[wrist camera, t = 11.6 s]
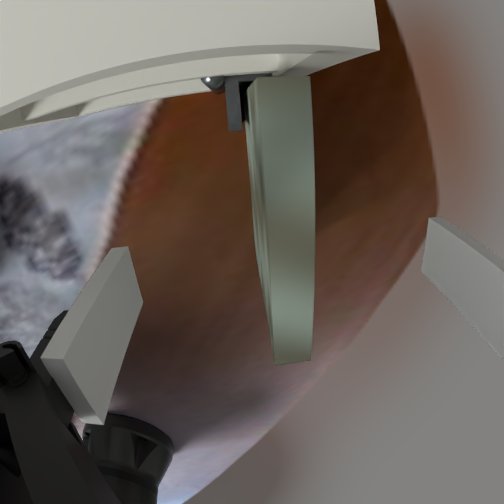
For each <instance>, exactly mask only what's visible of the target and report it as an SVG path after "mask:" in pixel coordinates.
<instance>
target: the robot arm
mask: <svg viewBox="0 0 504 504" xmlns="http://www.w3.org/2000/svg"><path fill="white" fill-rule="evenodd" d="M421 272H422V273H423V274H424V275H425V276H426V277H427V278H428V279H429V280H430V281H431V282H432V283H433V284H434V285H435V286H436V287H437V288H438V289H439V290H440V291H441V292H442V293H443V294H444V295H445V296H446V297H447V298H448V299H449V300H450V302H451V303H452V304H453V305H454V306H455V307H456V308H457V309H458V310H459V311H460V312H461V313H462V314H463V316H464V317H465V318H466V319H467V320H468V321H469V322H470V323H471V324H472V326H473V327H474V328H475V329H476V330H477V331H478V332H479V333H480V335H481V336H482V337H483V338H484V339H485V340H486V341H487V343H488V344H489V345H490V346H491V347H492V349H493V350H494V351H495V352H496V353H497V355H498V356H499V357H500V358H501V359H502V358H504V259H502V258H501V257H499V256H498V255H497V254H495V253H494V252H493V251H491V250H490V249H488V248H487V247H486V246H484V245H483V244H481V243H480V242H478V241H477V240H476V239H474V238H473V237H471V236H470V235H468V234H467V233H465V232H464V231H462V230H461V229H459V228H458V227H456V226H455V225H453V224H452V223H450V222H448V221H447V220H445V219H444V218H442V217H432V218H429V220H428V228H427V235H426V242H425V249H424V256H423V261H422V267H421ZM142 305H143V300H142V296H141V293H140V289H139V286H138V282H137V279H136V275H135V271H134V267H133V264H132V260H131V256H130V252H129V248H128V246H126V247H118V248H111V250H110V251H109V252H108V254H107V255H106V257H105V258H104V259H103V261H102V262H101V264H100V265H99V266H98V268H97V269H96V271H95V272H94V274H93V275H92V276H91V278H90V279H89V281H88V282H87V284H86V285H85V287H84V288H83V290H82V291H81V293H80V294H79V296H78V297H77V299H76V300H75V302H74V303H73V305H72V306H71V308H70V309H69V310H65V311H63V312H62V313H61V314H60V315H59V316H57V317H56V318H55V319H54V320H53V322H52V324H51V325H50V327H49V328H48V331H46V333H45V335H44V336H43V339H41V341H40V343H39V344H38V346H37V347H36V349H35V351H34V352H33V354H32V356H31V358H30V359H29V357H28V356H27V354H26V352H25V350H24V348H23V347H22V345H21V344H20V342H17V341H7V342H4V343H1V344H0V504H157V494H158V487H159V484H160V482H161V480H162V478H163V476H164V475H165V473H166V471H167V469H168V467H169V465H170V463H171V461H172V457H173V443H172V441H171V440H170V439H169V438H168V436H166V435H165V434H164V433H163V432H161V431H160V430H158V429H157V428H155V427H153V426H151V425H149V424H147V423H144V422H142V421H139V420H136V419H133V418H129V417H125V416H120V415H113V414H107V411H108V408H109V404H110V401H111V398H112V394H113V391H114V388H115V384H116V381H117V378H118V375H119V372H120V368H121V365H122V362H123V359H124V356H125V353H126V350H127V347H128V344H129V341H130V338H131V335H132V333H133V330H134V327H135V324H136V321H137V318H138V316H139V313H140V310H141V307H142ZM74 412H75V413H76V415H77V416H78V417H79V419H80V420H81V422H82V423H86V424H85V427H84V430H83V441H82V439H81V437H80V435H79V433H78V431H77V429H76V427H75V426H74V425H73V423H72V422H71V419H72V416H73V413H74Z"/></svg>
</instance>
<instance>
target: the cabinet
mask: <svg viewBox="0 0 504 504" xmlns="http://www.w3.org/2000/svg"><path fill="white" fill-rule="evenodd" d="M378 50H380V46H379V36H378V27H377V19H376V11H375V4H374V0H0V134H1V133H5V132H9V131H13V130H18V129H22V128H27V127H32V126H37V125H42V124H47V123H52V122H58V121H64V120H70V119H74V118H78V117H81V116H85V115H88V114H92V113H96V112H100V111H104V110H108V109H112V108H116V107H121V106H125V105H130V104H135V103H140V102H145V101H150V100H155V99H161V98H167V97H173V96H180V95H186V94H194V93H201V92H209V91H211V90H210V89H209V88H208V87H207V86H206V85H205V84H204V83H203V82H202V81H201V78H203V77H212V76H221V75H223V76H231V75H244V74H259V73H272V74H273V77H283V76H306V75H309V74H311V73H314V72H317V71H319V70H322V69H325V68H327V67H330V66H333V65H336V64H338V63H341V62H344V61H347V60H350V59H353V58H356V57H359V56H362V55H365V54H369V53H372V52H375V51H378ZM240 88H248V87H239V89H240Z"/></svg>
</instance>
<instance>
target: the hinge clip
mask: <svg viewBox="0 0 504 504" xmlns="http://www.w3.org/2000/svg"><path fill="white" fill-rule="evenodd" d="M259 77H273V74H272V73H259V74H244V75H231V76H223V75H221V76H212V77H203V78H201V81H202V82H203V83H204V84H205V85H206V86H207V87H208V88H209V89H210V90H211V91H212V92H214V93H215V94H221V93H223V92H224V91H225V93H226V104H227V116H228V127H229V132H230V131H241V130H243V129H242V118H241V106H240V94H239V87H249V86H250V85H251V84H252V83H253V82H254V80H255V79H256V78H259Z"/></svg>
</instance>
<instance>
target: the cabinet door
mask: <svg viewBox="0 0 504 504" xmlns="http://www.w3.org/2000/svg"><path fill="white" fill-rule="evenodd" d="M243 102H244V114H245V126H246V138H247V151H248V163H249V175H250V188H251V200H252V212H253V225H254V238H255V250H256V257H257V263H258V269H259V275H260V281H261V286H262V292H263V298H264V304H265V310H266V316H267V321H268V327H269V333H270V339H271V345H272V351H273V357H274V363H275V365H280V364H288V363H296V362H303V361H310V360H311V352H312V333H313V311H314V280H315V169H314V139H313V117H312V99H311V84H310V76H283V77H259V78H256V79H255V80H254V82H253V83H252V84H251V85H250V86H249V87H248V89H247V90H246V91H245V92H244V93H243Z"/></svg>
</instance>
